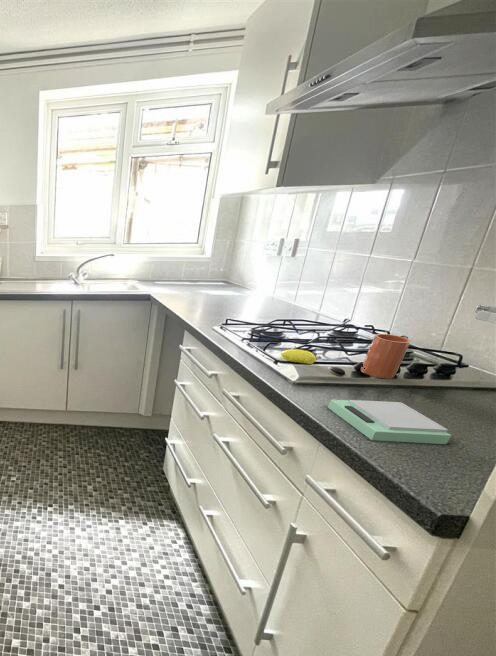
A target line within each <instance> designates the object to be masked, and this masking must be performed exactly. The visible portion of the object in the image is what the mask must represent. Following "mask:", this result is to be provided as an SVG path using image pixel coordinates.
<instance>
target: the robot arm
mask: <svg viewBox="0 0 496 656" xmlns="http://www.w3.org/2000/svg"><path fill="white" fill-rule="evenodd" d="M474 312H475V313H476V315H475V317H474V318H475V319H476V320H477V321H483V322H488V323H490V324H494V325H496V305H486V304H478V305H477V306H476V308H475V310H474Z"/></svg>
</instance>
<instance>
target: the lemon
mask: <svg viewBox="0 0 496 656" xmlns="http://www.w3.org/2000/svg"><path fill="white" fill-rule="evenodd" d="M280 356H281V358H283V359H285V360H286V361H288V362H291V363H296V364H297V363H298V364H304V365H312V364H314V363H315V362H316V361H317V357H316V355H315V354H314V353H313V352H311V351H309V350H304V349H301V348H299V349H295V348H294V349H285V350H283V351H282V352H281V353H280Z"/></svg>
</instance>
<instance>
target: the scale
mask: <svg viewBox="0 0 496 656" xmlns="http://www.w3.org/2000/svg"><path fill="white" fill-rule="evenodd" d="M327 408H328V409H329V410H331V412H332V413H334V414H336V415H337V416H338V417H340V418H341V419H342V420H344V421H345V422H346V423H347V424H348V425H351V426H352V427H353V428H354V429H356V430H357V431H358V432H360V433H361V434H363V435H364V436H365V437H366V438H368V439H369V440H371V441H379V442H380V441H381V442H398V443H415V444H416V443H417V444H418V443H419V444H435V445H437V444H438V445H447V444H448V443H449V441H450V439H451V438H452V434H450V433H448V431H449V429H448V428H446V427H444V426H443V425H441V424H439V423H437V422H436V421H434V420H433V419H431V418H429V417H428V416H426V415H424V414H422V413H420V412H419V411H417V410H416V409H414V408H412V407H410V406H408V405H406V404H405V403H403V402H401V401H381V400H361V399H350V400H348V399H347V400H346V399H330V401H329V404H328V405H327Z"/></svg>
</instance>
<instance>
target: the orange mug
mask: <svg viewBox="0 0 496 656" xmlns="http://www.w3.org/2000/svg"><path fill="white" fill-rule="evenodd" d="M411 343H412V340H410V339H409V338H407V337H404V336H400V335H395V334H391V333H390V334H389V333H376V334H375V335H374V336H373V338H372V341H371V344H370V346H369V348H368V351H367V353H366V355H365V357H364V360H363V362H362V364H363V367H362V366H361V367H360V372H361V373H363V374H365V375H367V376H370V377H375V378H379V379H389V380H390V379H393V378H395V377H396V374H397V372H398V370H399V368H400V366H401V364H402V362H403V359H404V357H405V355H406V353H407V351H408V349H409V347H410V344H411ZM364 368H365V369H364Z"/></svg>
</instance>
